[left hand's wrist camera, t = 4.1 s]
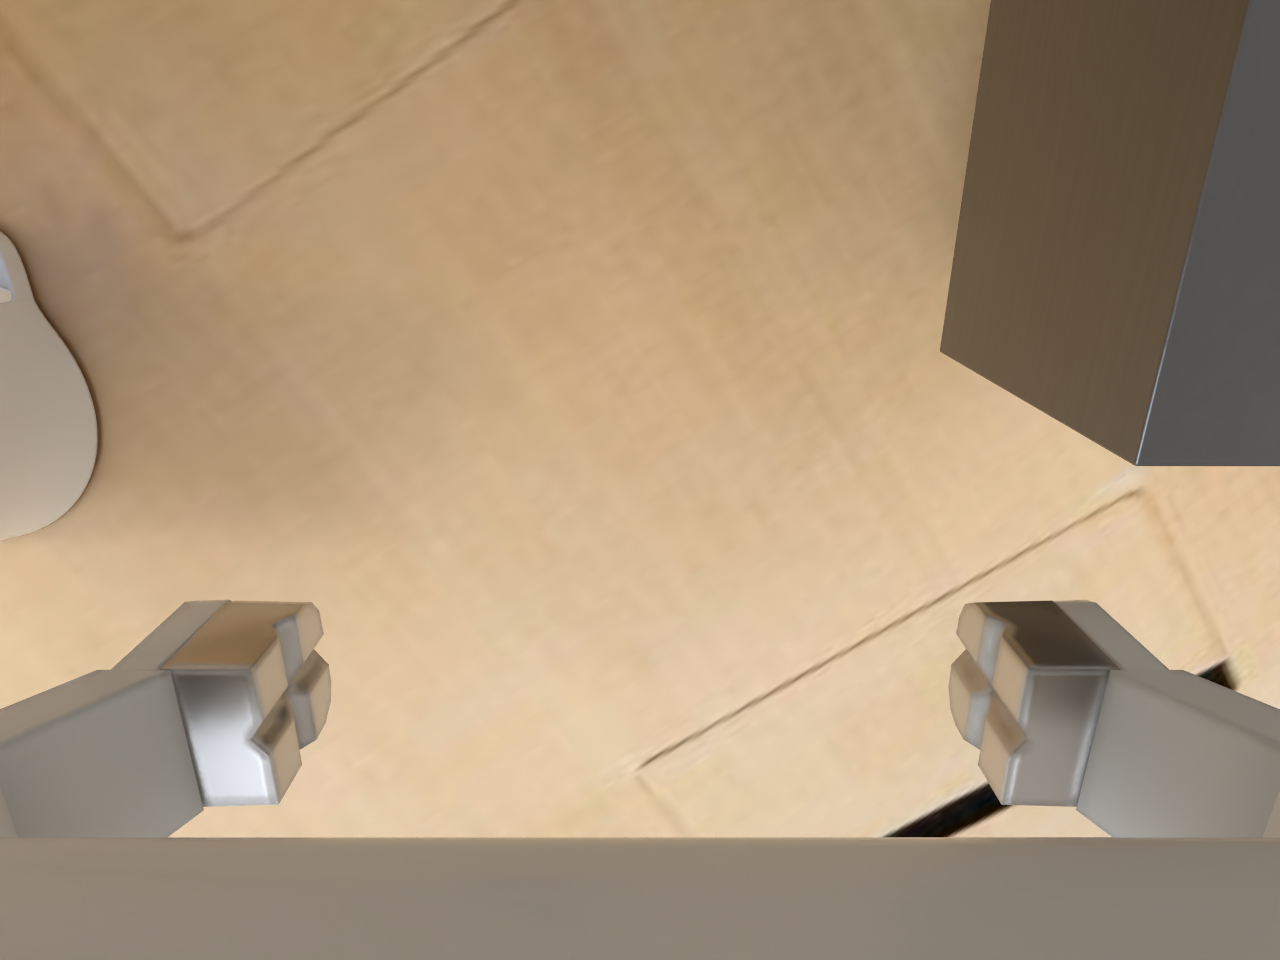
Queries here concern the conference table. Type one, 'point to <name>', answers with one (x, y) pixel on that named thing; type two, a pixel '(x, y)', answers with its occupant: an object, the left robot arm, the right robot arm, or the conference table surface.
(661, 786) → the conference table surface
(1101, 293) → the box
